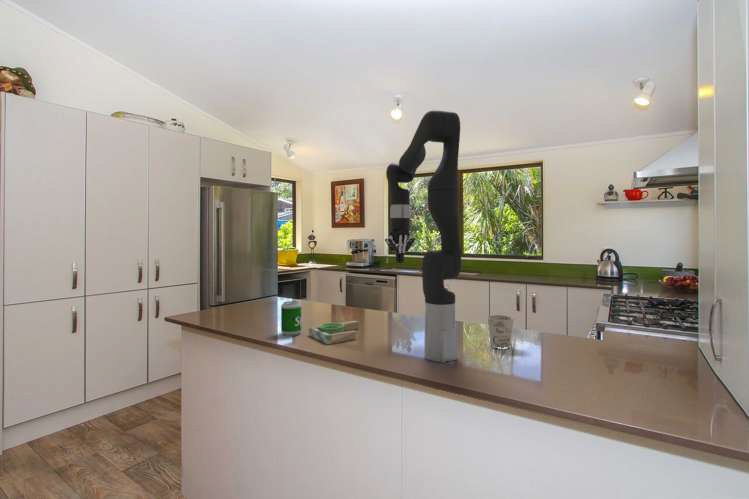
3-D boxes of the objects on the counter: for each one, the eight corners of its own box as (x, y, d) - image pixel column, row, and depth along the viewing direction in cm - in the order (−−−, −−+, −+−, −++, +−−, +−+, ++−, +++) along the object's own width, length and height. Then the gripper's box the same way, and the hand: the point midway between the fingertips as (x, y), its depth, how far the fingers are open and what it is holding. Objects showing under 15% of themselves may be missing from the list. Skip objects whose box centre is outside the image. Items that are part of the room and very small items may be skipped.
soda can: (290, 337, 148) (290, 304, 147) (277, 334, 152) (276, 302, 152) (305, 333, 154) (305, 302, 153) (292, 330, 158) (292, 300, 158)
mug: (484, 348, 134) (485, 318, 134) (492, 339, 146) (492, 312, 145) (510, 352, 131) (511, 321, 130) (516, 342, 142) (517, 314, 141)
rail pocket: (376, 335, 150) (376, 327, 150) (327, 344, 139) (327, 335, 139) (355, 328, 162) (355, 320, 162) (309, 335, 151) (309, 327, 151)
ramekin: (346, 334, 152) (346, 322, 152) (340, 340, 143) (340, 328, 143) (323, 333, 153) (323, 322, 153) (316, 339, 145) (316, 327, 144)
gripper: (392, 216, 145) (391, 264, 146) (420, 217, 152) (419, 263, 153) (380, 217, 151) (379, 263, 152) (407, 217, 158) (407, 261, 159)
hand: (399, 263), depth 152 cm, fingers closed
